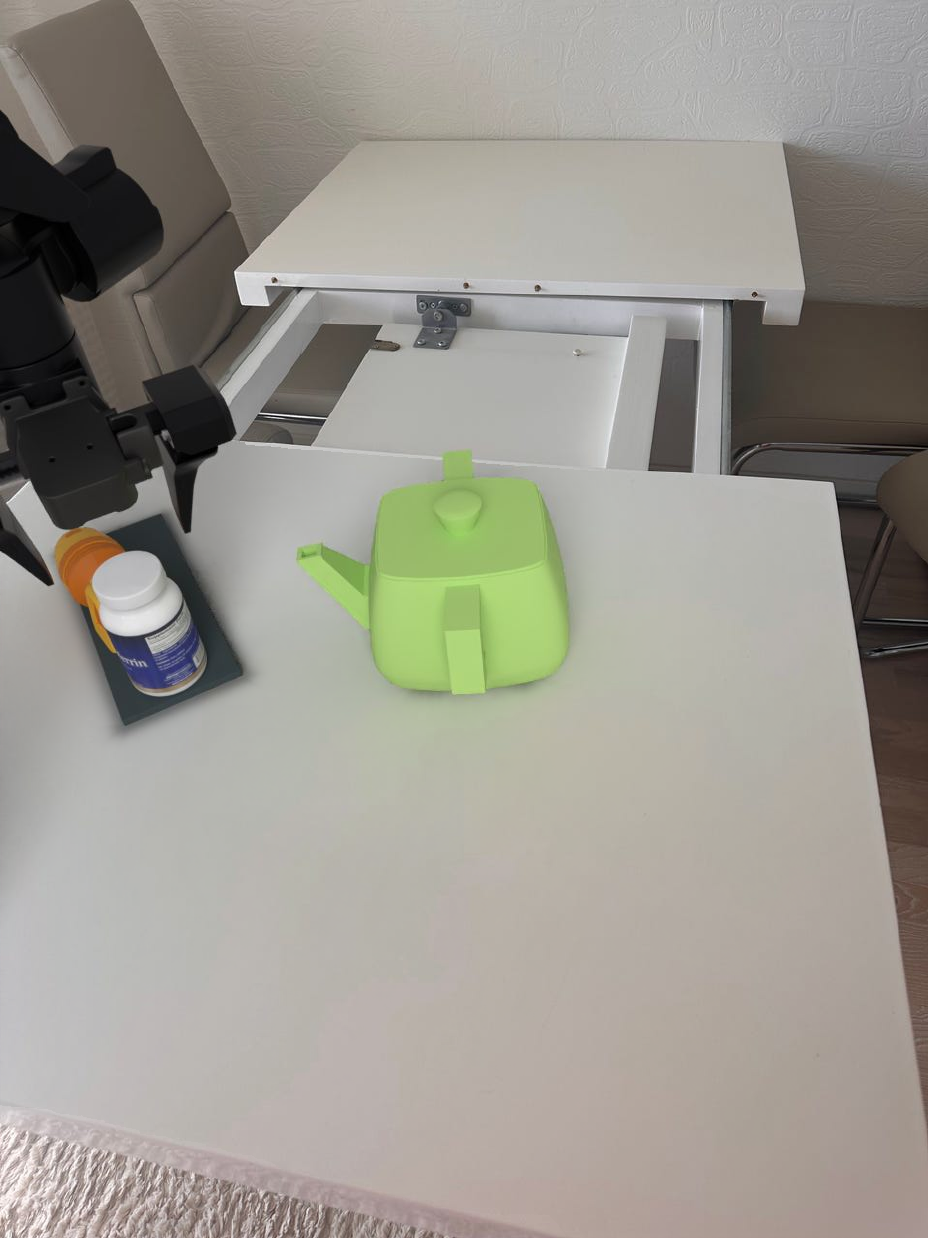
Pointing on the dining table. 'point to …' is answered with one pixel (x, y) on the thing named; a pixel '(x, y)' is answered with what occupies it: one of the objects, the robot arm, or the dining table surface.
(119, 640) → the pill bottle
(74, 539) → the multicoloured piece
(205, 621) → the mat
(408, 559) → the teapot
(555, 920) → the dining table surface
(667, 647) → the dining table surface
